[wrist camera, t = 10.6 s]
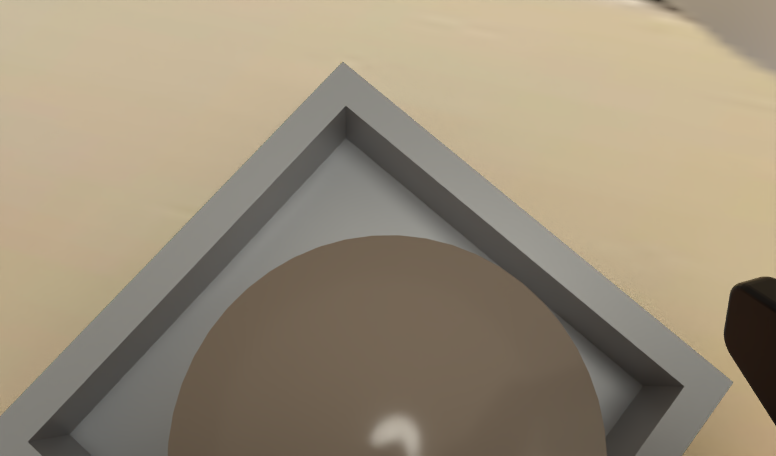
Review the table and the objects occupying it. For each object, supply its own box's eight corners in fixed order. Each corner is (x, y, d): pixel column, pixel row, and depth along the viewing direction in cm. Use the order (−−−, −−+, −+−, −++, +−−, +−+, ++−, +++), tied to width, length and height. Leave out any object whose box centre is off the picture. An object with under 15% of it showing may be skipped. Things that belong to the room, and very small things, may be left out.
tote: (389, 773, 16) (399, 860, 13) (35, 436, 17) (-30, 446, 14) (672, 382, 18) (733, 382, 15) (343, 109, 19) (342, 61, 17)
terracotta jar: (380, 574, 16) (422, 807, 7) (215, 427, 17) (70, 484, 8) (514, 398, 17) (690, 420, 8) (354, 265, 18) (364, 154, 9)
